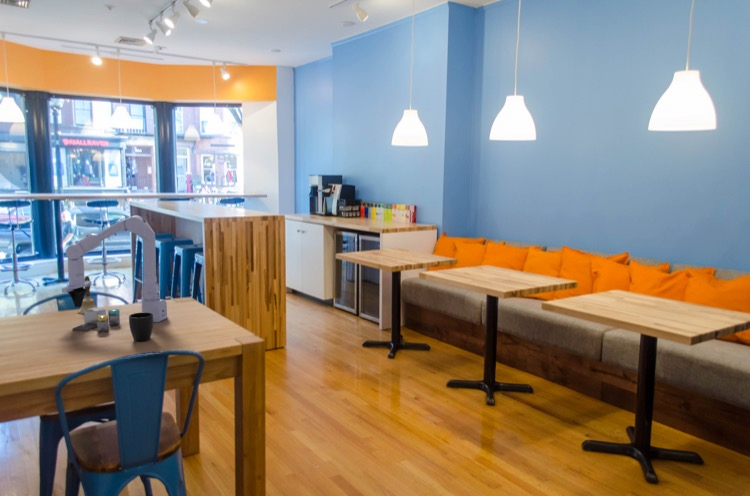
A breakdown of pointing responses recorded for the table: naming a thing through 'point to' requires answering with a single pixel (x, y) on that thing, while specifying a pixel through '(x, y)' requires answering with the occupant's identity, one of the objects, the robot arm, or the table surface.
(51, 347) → the table surface
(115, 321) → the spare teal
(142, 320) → the mug
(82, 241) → the robot arm
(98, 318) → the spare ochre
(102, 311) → the control box
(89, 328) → the pad
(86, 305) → the hand bell
